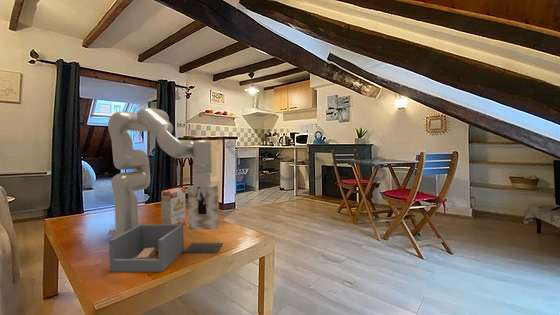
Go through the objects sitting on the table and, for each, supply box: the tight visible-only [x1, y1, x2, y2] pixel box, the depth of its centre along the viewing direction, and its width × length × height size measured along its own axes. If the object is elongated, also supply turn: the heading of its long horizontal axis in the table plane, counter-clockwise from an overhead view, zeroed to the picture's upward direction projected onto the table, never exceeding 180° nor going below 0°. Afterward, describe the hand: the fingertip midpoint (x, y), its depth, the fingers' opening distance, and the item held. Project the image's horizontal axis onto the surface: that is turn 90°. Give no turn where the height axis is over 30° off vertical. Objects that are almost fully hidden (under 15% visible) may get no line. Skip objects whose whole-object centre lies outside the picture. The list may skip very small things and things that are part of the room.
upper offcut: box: [136, 248, 156, 259], centre depth 97 cm, size 9×4×2 cm, turn 10°
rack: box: [108, 224, 185, 273], centre depth 100 cm, size 18×19×11 cm
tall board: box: [187, 184, 220, 230], centre depth 111 cm, size 12×3×18 cm, turn 89°
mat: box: [182, 242, 224, 254], centre depth 111 cm, size 14×10×1 cm
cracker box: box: [160, 187, 186, 226], centre depth 143 cm, size 14×6×21 cm, turn 168°
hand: (203, 212), depth 111 cm, fingers closed on tall board, 3 cm apart
